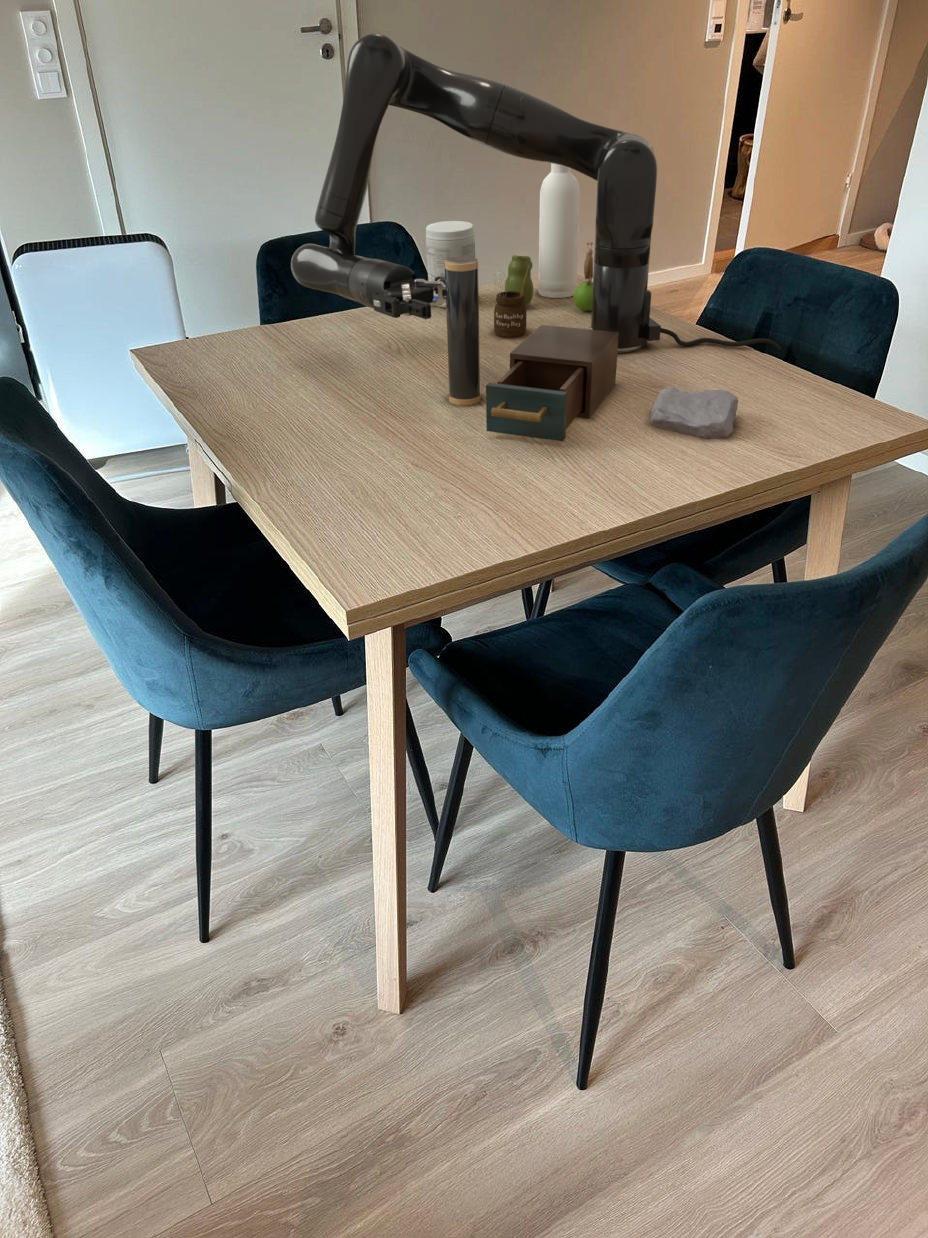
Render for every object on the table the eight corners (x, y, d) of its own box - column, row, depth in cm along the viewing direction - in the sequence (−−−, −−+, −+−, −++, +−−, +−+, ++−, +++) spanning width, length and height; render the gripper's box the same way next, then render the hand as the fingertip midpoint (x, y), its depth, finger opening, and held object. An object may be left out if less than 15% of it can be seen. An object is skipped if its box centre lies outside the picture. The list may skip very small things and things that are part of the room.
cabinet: (589, 419, 144) (592, 362, 139) (509, 408, 148) (509, 353, 143) (615, 385, 155) (618, 331, 150) (540, 377, 159) (541, 324, 154)
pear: (501, 309, 191) (501, 256, 186) (510, 301, 195) (510, 250, 190) (528, 311, 190) (528, 258, 184) (537, 304, 194) (537, 251, 188)
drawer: (554, 452, 132) (555, 404, 128) (476, 441, 136) (475, 394, 132) (590, 407, 145) (592, 362, 141) (518, 398, 149) (518, 354, 145)
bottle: (551, 285, 205) (554, 127, 188) (583, 291, 201) (590, 129, 184) (530, 295, 199) (532, 132, 183) (563, 300, 195) (568, 134, 179)
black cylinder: (476, 392, 154) (474, 254, 142) (483, 403, 150) (481, 262, 138) (446, 395, 153) (441, 257, 141) (452, 407, 149) (448, 265, 137)
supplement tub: (467, 293, 201) (465, 218, 193) (483, 305, 194) (482, 227, 186) (422, 299, 199) (418, 223, 190) (437, 311, 191) (434, 232, 183)
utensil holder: (495, 328, 181) (495, 261, 175) (529, 328, 180) (530, 261, 174) (492, 338, 176) (491, 269, 170) (526, 338, 176) (527, 270, 169)
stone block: (729, 451, 137) (738, 412, 143) (731, 422, 133) (740, 384, 140) (644, 445, 140) (657, 407, 147) (645, 416, 137) (658, 379, 144)
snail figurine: (600, 305, 192) (604, 241, 185) (601, 314, 187) (604, 249, 180) (573, 304, 193) (575, 241, 186) (572, 314, 187) (575, 249, 181)
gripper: (345, 270, 149) (413, 289, 139) (415, 253, 157) (485, 270, 147) (349, 319, 153) (416, 341, 143) (418, 300, 161) (485, 320, 151)
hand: (451, 305), depth 145 cm, fingers open, 8 cm apart
